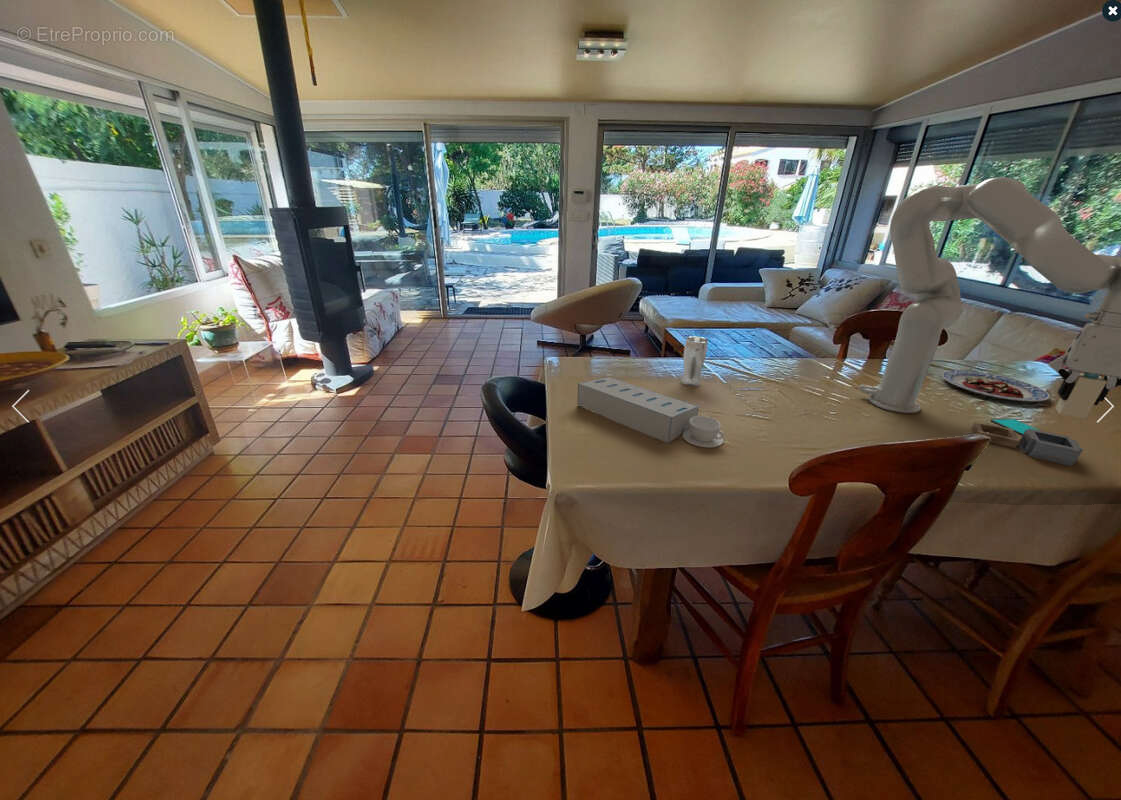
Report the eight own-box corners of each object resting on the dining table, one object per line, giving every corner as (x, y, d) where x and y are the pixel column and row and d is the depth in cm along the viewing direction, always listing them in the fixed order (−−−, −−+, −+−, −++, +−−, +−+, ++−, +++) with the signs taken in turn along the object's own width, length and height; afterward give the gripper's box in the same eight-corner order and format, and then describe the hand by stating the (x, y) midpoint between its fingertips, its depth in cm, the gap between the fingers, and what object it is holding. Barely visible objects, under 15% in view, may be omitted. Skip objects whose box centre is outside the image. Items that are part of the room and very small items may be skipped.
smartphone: (1052, 447, 104) (990, 419, 117) (1050, 450, 104) (988, 422, 118) (1078, 446, 104) (1013, 418, 118) (1076, 449, 105) (1012, 421, 118)
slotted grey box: (695, 425, 114) (700, 399, 110) (668, 444, 104) (671, 417, 101) (607, 393, 132) (609, 371, 129) (577, 407, 123) (578, 383, 120)
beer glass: (703, 381, 141) (711, 338, 135) (697, 388, 136) (705, 343, 130) (683, 377, 145) (689, 335, 138) (676, 383, 139) (683, 340, 133)
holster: (975, 438, 108) (978, 431, 107) (971, 427, 114) (974, 421, 113) (1015, 448, 104) (1019, 440, 103) (1009, 436, 110) (1013, 429, 109)
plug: (1059, 413, 97) (1083, 370, 92) (1054, 407, 100) (1077, 365, 95) (1085, 418, 95) (1111, 374, 90) (1079, 412, 98) (1104, 369, 93)
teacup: (674, 438, 106) (677, 422, 104) (693, 425, 113) (696, 410, 111) (712, 453, 100) (715, 436, 98) (729, 439, 107) (733, 422, 105)
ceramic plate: (1067, 413, 124) (1072, 403, 122) (958, 398, 132) (962, 389, 131) (1019, 382, 145) (1023, 374, 144) (928, 371, 154) (931, 364, 153)
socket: (1024, 455, 101) (1032, 440, 99) (1016, 441, 107) (1024, 427, 106) (1076, 467, 96) (1085, 452, 95) (1065, 451, 103) (1073, 437, 101)
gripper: (1069, 318, 90) (1029, 397, 97) (1195, 330, 81) (1141, 416, 88) (1059, 312, 95) (1022, 387, 103) (1176, 323, 86) (1126, 404, 94)
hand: (1077, 399), depth 96 cm, fingers closed on plug, 4 cm apart
